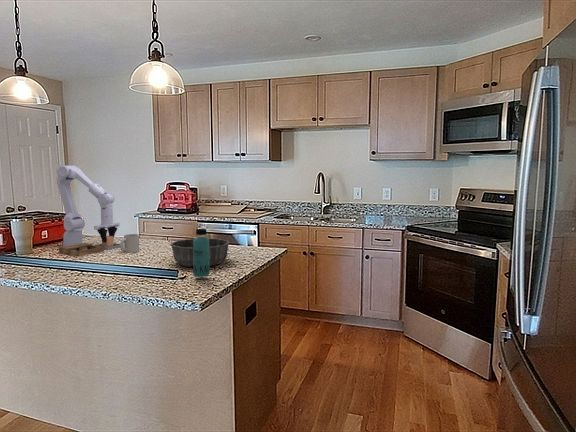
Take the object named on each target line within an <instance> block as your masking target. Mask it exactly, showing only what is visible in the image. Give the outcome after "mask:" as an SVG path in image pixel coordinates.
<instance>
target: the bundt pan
mask: <svg viewBox="0 0 576 432" xmlns="http://www.w3.org/2000/svg"><path fill="white" fill-rule="evenodd" d="M207 238H208V237H207ZM194 239H195V238H186V239H179V240H175V241H173V242H172V241H171V243H170V246H171V249H172V255H173V259H174V261H175V262H176V263H177V264H179V265H180V266H182V267H193V240H194ZM208 239H209V257H210V262H209V266H210V267H213V266H214V265H216V266H217V265H219V264H221V263H223V262H224V261H226V259H227V257H228V251H229V245H230V241H229V240H225V239H222V238H221V239H220V238H208Z"/></svg>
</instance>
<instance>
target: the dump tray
mask: <svg viewBox="0 0 576 432" xmlns="http://www.w3.org/2000/svg"><path fill="white" fill-rule="evenodd" d="M94 245H95V246H102V243H100V244H99V243H98V244H94ZM102 247H104V251H110V250H116V249H121V247H120V243H115V242H114V245H113V246H102Z"/></svg>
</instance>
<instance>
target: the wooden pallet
mask: <svg viewBox="0 0 576 432" xmlns="http://www.w3.org/2000/svg"><path fill="white" fill-rule="evenodd" d="M95 245H96V244H93V243H88V242H87V243H86V242H83V243H80V244H75V245H69V246H64V245H63V247H62V246H59V247H58V254H62V255H68V256H73V257H78V258H79V257H84V256H88V255H93V254H99V253H103V252H105V250H104V247H105V246H103V247H102V246H95ZM85 246H87V250H83V251H75V250H69V249H74V248H79V247H85Z"/></svg>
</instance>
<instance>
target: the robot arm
mask: <svg viewBox="0 0 576 432" xmlns="http://www.w3.org/2000/svg"><path fill="white" fill-rule="evenodd" d="M56 174H57V178H56V184H57V188H58V191H59V195H60V199H61V202H62V204H63V209H64V212H65V215H64V217H63V228H64V230H65V231H64V233H63V236H62V237H63V238H62V239H63V246H69V245H75V244H80V243H84V241H83V238H84V237H83V229H84V228H85V226H86V225H85V224H86V221H85V220H84V219H83V217H82V214H80V213H79V212H78V210H77V207H76V204H75V200H74V196H73V192H72V190H71V185H70V184H71V182H72V181H73V180H75V179H77V181H79V182H81V183H82V184H83V185H84V186H85V187H87V188H88V192H90V194H91V195H92V196H94V197H95V198H96V199H97V202H98V204H99V205H100V206H99V207H100V220H101V221H100V223H101V224H97V225H93V226H94V228H93V230H96V231H97V232H98V234H99V236H100V238H101V243H102V242H106V236H113V240H114V238H115V235H116V233H117V230H118V227H121V226H120V222H114V216H113V215H114V213H113V204H114V201H115V196H114V194H112V193H110V192H108V191H107V190H105V189H104V188H103V187H101V184H100V183H94V182H93V181H92V180H91V179H90V178H89V177H88V176H87V175H86V174H85V173H84V172H83V171H82V169H80V167H78V166H77V165H74V164H73V165H65V164H64V165H63V164H62V165H60V166H59V167H58V168H57V169H56ZM107 233H108V235H107ZM63 246H61V247H63Z"/></svg>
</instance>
